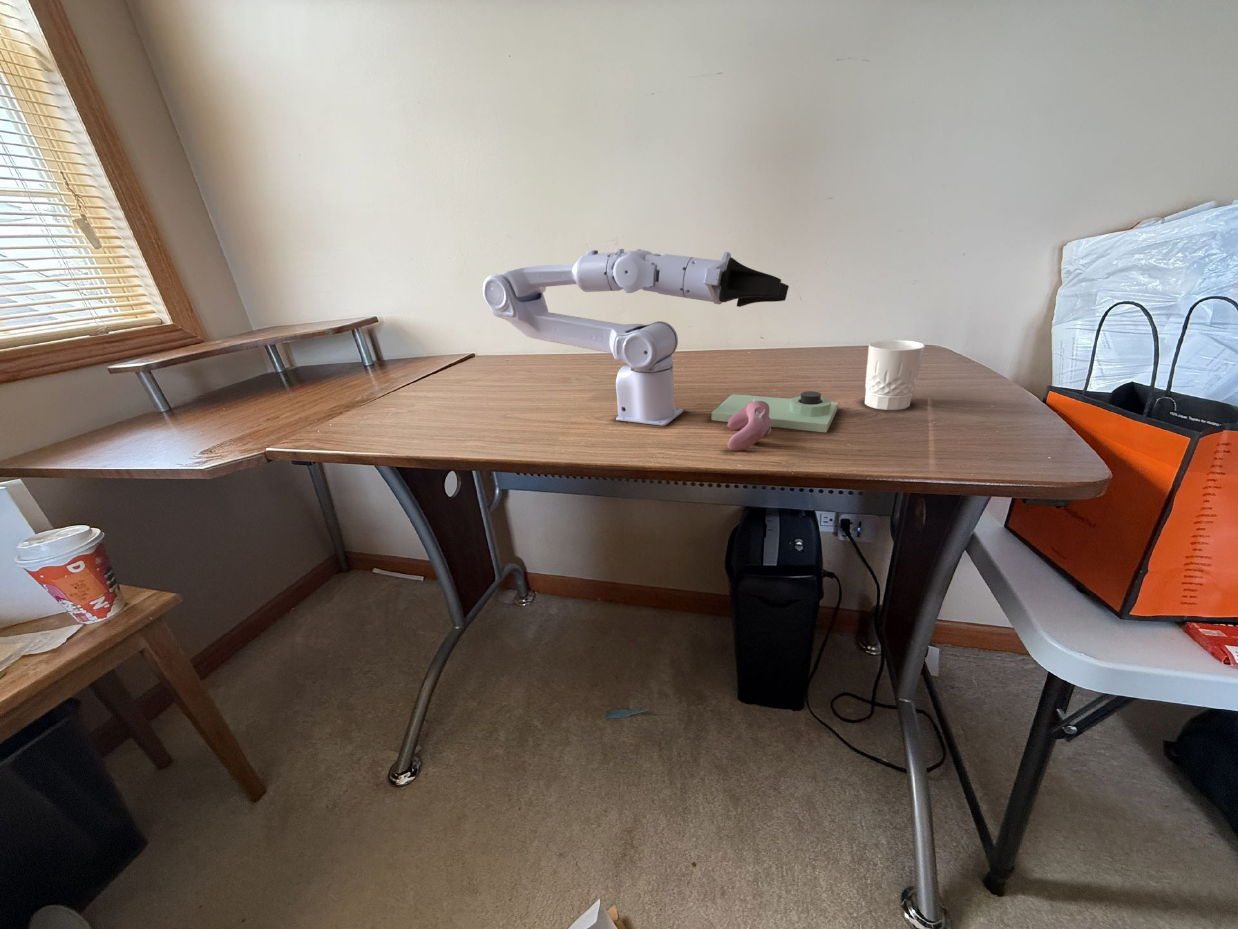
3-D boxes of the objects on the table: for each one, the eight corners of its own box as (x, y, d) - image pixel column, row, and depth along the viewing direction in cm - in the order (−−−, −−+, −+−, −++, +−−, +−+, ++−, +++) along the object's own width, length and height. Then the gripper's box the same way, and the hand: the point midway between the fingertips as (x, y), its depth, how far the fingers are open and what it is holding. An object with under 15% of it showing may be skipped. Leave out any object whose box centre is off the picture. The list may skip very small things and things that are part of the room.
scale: (711, 420, 80) (711, 403, 79) (731, 401, 88) (732, 385, 87) (826, 433, 71) (828, 414, 70) (837, 410, 80) (839, 393, 79)
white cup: (923, 410, 77) (936, 347, 73) (873, 413, 77) (883, 351, 73) (898, 396, 84) (908, 338, 80) (852, 399, 84) (860, 342, 80)
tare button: (798, 405, 76) (799, 395, 75) (802, 399, 78) (803, 390, 77) (818, 406, 74) (819, 397, 74) (821, 401, 77) (822, 392, 76)
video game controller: (754, 463, 67) (780, 421, 64) (724, 449, 67) (749, 406, 64) (750, 437, 76) (773, 399, 73) (724, 425, 76) (746, 386, 73)
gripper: (679, 239, 63) (783, 250, 58) (709, 257, 76) (796, 267, 71) (669, 295, 66) (768, 309, 61) (700, 303, 78) (784, 315, 73)
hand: (783, 290), depth 66 cm, fingers open, 7 cm apart
